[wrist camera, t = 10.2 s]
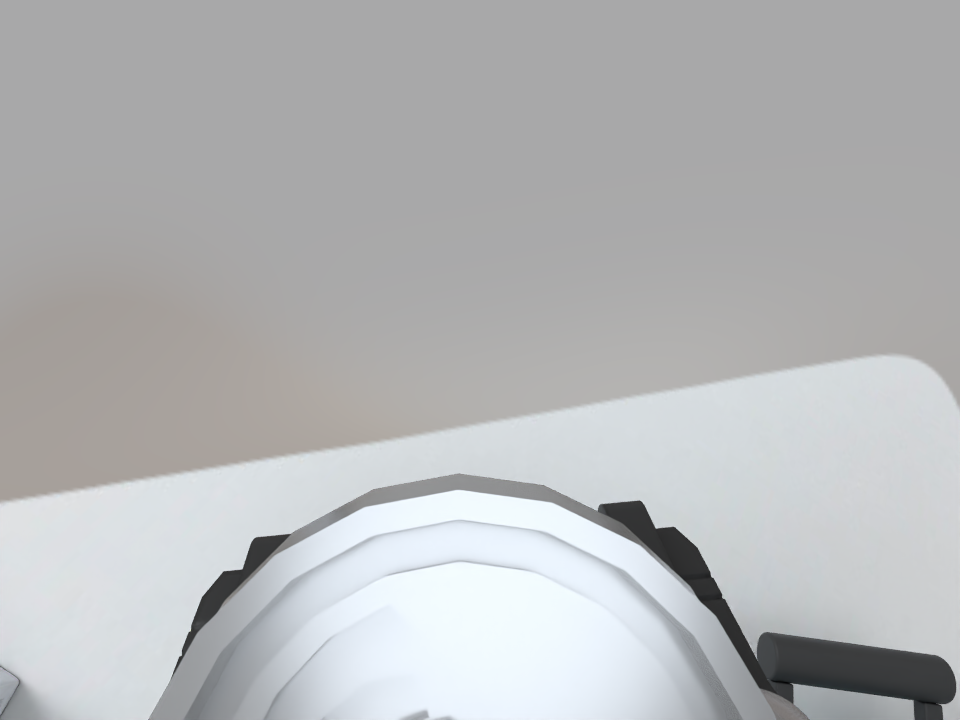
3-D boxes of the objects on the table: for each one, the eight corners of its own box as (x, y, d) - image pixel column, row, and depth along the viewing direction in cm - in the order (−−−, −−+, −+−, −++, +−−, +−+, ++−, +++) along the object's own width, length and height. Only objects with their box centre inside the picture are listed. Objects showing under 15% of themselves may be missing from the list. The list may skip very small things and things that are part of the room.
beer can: (604, 593, 16) (965, 731, 5) (490, 788, 15) (587, 1679, 3) (439, 475, 17) (388, 339, 5) (315, 651, 15) (-109, 977, 4)
